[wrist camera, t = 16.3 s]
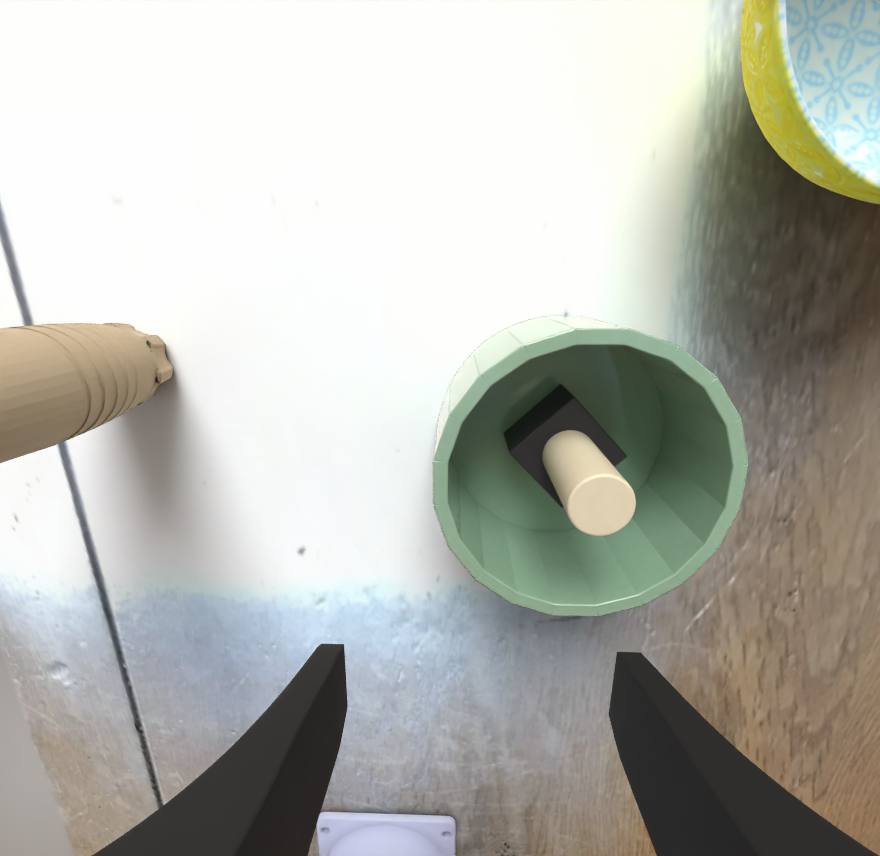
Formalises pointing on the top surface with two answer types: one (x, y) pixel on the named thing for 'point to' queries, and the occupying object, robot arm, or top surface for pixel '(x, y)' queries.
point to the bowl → (817, 88)
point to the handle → (72, 380)
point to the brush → (574, 462)
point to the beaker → (645, 468)
